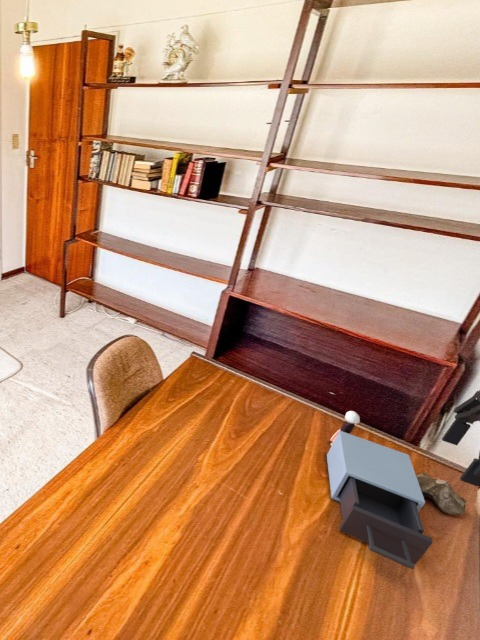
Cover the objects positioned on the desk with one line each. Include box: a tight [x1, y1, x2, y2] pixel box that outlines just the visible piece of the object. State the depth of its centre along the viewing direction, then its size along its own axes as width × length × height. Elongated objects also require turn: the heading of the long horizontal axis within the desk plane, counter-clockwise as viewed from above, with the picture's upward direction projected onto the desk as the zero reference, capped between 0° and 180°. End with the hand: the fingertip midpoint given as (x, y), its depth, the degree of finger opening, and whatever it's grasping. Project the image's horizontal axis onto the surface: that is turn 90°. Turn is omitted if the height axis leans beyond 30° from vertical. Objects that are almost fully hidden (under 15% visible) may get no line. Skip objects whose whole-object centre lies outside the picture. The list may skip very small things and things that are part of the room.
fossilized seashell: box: [416, 471, 468, 516], centre depth 99 cm, size 8×7×10 cm
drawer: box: [339, 476, 434, 570], centre depth 89 cm, size 21×13×8 cm, turn 149°
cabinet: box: [326, 431, 426, 513], centre depth 100 cm, size 16×15×10 cm
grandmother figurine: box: [329, 410, 361, 447], centre depth 112 cm, size 8×4×13 cm, turn 130°
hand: (458, 461), depth 95 cm, fingers open, 13 cm apart
